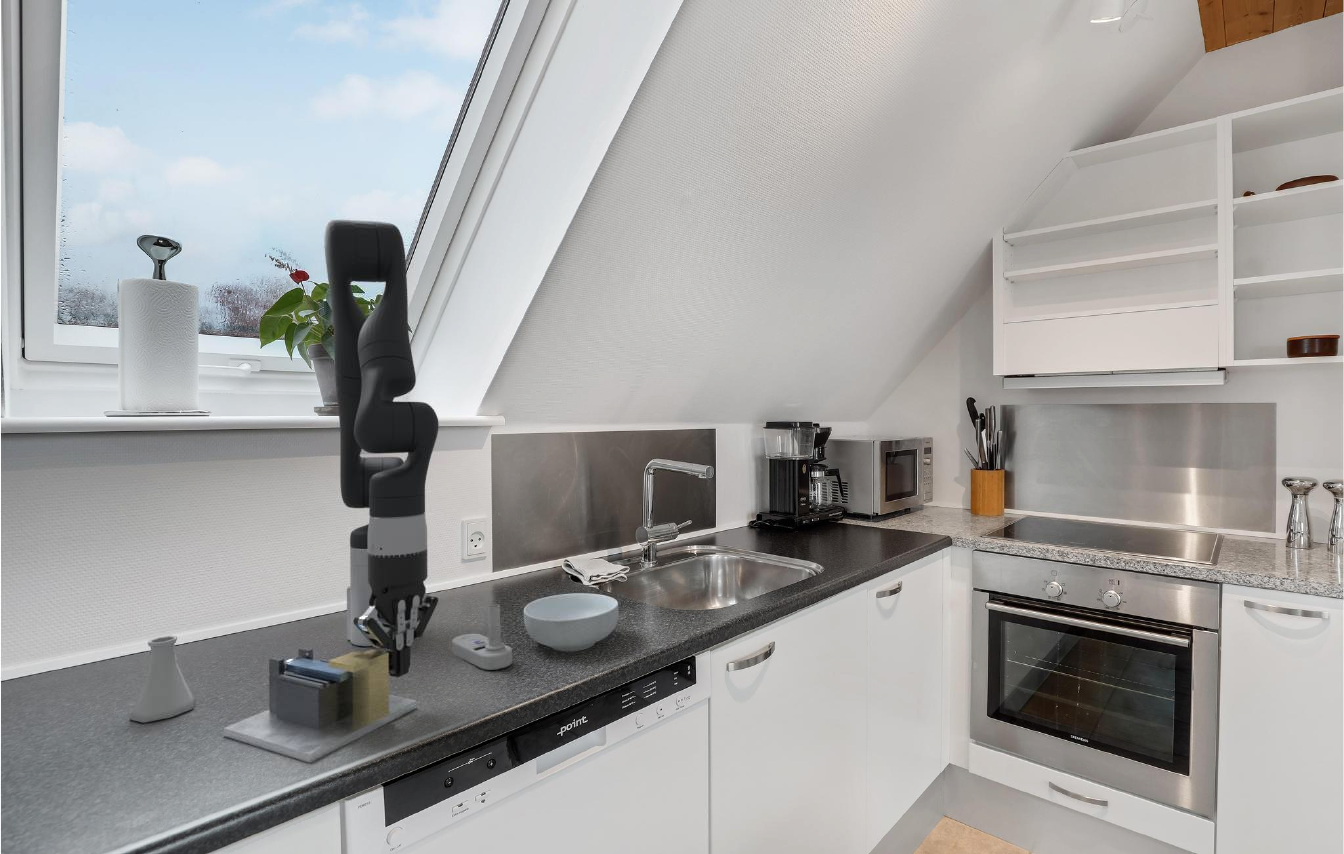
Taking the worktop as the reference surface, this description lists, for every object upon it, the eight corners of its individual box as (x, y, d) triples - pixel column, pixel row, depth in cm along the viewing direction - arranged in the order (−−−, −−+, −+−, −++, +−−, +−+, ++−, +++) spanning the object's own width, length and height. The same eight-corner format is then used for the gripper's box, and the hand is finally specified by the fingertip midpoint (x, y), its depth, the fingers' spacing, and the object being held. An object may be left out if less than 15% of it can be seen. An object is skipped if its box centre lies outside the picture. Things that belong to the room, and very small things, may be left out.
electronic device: (474, 591, 117) (516, 605, 106) (475, 646, 117) (518, 666, 106) (445, 597, 113) (486, 612, 102) (447, 653, 113) (488, 675, 102)
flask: (187, 696, 94) (186, 627, 94) (203, 709, 90) (202, 637, 90) (122, 713, 89) (122, 640, 89) (136, 729, 84) (136, 652, 84)
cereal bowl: (556, 625, 127) (556, 589, 127) (634, 634, 121) (633, 596, 121) (503, 653, 111) (503, 612, 111) (589, 666, 105) (589, 623, 105)
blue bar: (278, 672, 88) (278, 661, 88) (297, 664, 90) (297, 654, 90) (338, 684, 83) (338, 673, 83) (357, 676, 85) (357, 665, 85)
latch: (329, 724, 83) (328, 660, 83) (364, 708, 87) (364, 647, 87) (354, 731, 81) (353, 665, 81) (388, 714, 86) (388, 652, 86)
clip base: (223, 735, 82) (223, 672, 82) (336, 688, 97) (335, 634, 96) (309, 762, 75) (309, 693, 75) (416, 707, 90) (416, 650, 90)
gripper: (378, 559, 81) (379, 697, 81) (453, 541, 93) (454, 662, 93) (335, 554, 84) (336, 688, 84) (414, 538, 96) (415, 655, 96)
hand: (398, 674), depth 89 cm, fingers closed
